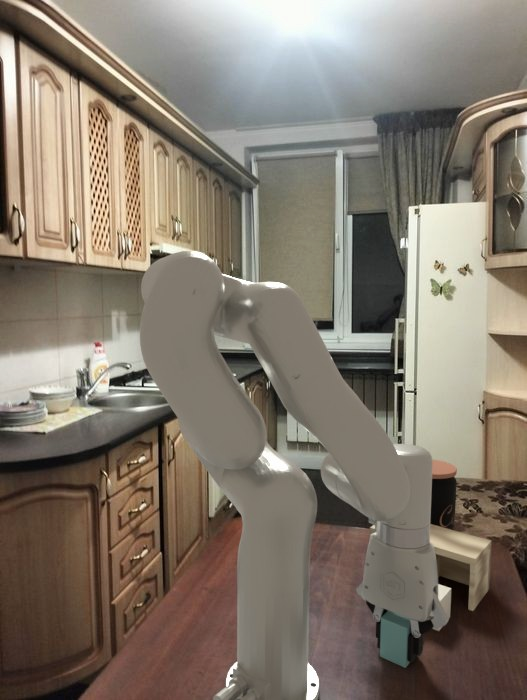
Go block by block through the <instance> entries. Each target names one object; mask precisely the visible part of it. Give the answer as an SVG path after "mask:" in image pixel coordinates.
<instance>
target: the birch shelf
mask: <svg viewBox="0 0 527 700" xmlns="http://www.w3.org/2000/svg"><path fill="white" fill-rule="evenodd" d="M373 533H375V525H373V524H372V526H370V527H369V538H370V537H371V535H372V534H373ZM430 542H431V543H433V545H434V550H435V555H436V561H437V571H438V578H439V577H442V578H446V579H449V580H451V581H454V582H457V583H460V584H463V585H467V586H468V587H469V588H468V603H467V604H468V605H467V606H468V610H469V611H472V612H474V611H475V610H476V608H477V606H478V605H479V604H480V602H481V601H482V599H483V598H484V597H485V596H486V594H487V593H489V591H490V585H491V584H490V581H491V562H492V561H491V559H492V540H491V539H487V538H484V537H479V536H476V535H473V534H470V533H464V532H462V531H457V530H451V529H447V528H443V527H440V526H436V525H432V524H430Z"/></svg>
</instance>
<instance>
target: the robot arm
mask: <svg viewBox="0 0 527 700" xmlns="http://www.w3.org/2000/svg"><path fill="white" fill-rule="evenodd" d="M140 293H141V297H142V300H143V303H144V305H143V309H142V311H141V316H140V326H139V344H140V345H139V346H140V351H141V356H142V359H143V363H144V365H145V367H146V369H147V371H148V372H147V373H148V374H149V375H150V377H151V379H152V380H153V382H154V383H155V385H156V387H157V389H158V390H159V391H160V393H161V394H162V396H163V397H164V399H165V401H166V402H167V404H168V405H169V407H170V409H171V410H172V411H173V413H174V414H175V416H176V418H177V423H178V427H179V431H180V434H181V435H182V437H183V439H184V441H185V443H186V444H188V446H189V447H190V449H191V450H192V452H193V453H194V454H195V456H196V458H197V459H198V460H199V462H200V463H201V464H202V466H203V467H204V468H205V470H206V471H207V473H208V474H209V475H210V477H211V478H212V479H213V481H214V482H215V483H216V485H217V486H218V487H219V489H220V490H221V492H222V493H223V494H224V496H226V498H227V499H228V500H229V501H230V503H232V505H233V506H234V507H235V509H236V510H237V511H238V512H237V513H239V514H240V515H241V519H242V520H241V521H242V529H241V535H240V540H239V545H238V549H237V561H236V562H237V563H236V566H237V567H236V574H237V575H236V581H237V585H236V586H237V588H236V589H237V596H236V597H237V608H236V609H237V610H236V611H237V613H236V614H237V618H236V619H237V621H236V622H237V623H236V627H237V630H236V631H237V634H236V636H237V637H236V642H237V643H236V645H237V646H236V648H237V649H236V652H237V653H236V654H237V655H236V660H237V661H236V662H235V663H233V665H231V667H230V668H229V670H228V671H227V674H226V678H225V687H223V688H222V689H221V690H220V691H218V692H217V693H215V694H214V696H213V697H212V700H319V696H320V679H319V676H318V674H317V671H316V670H315V668H314V667H313V666H312V665H310V663H309V638H310V637H309V635H310V634H309V629H310V628H309V627H310V624H309V623H310V566H311V565H310V564H311V563H310V562H311V546H312V539H313V533H314V527H315V523H316V519H317V511H318V499H317V493H316V489H315V488H314V485H313V483H312V481H311V479H310V478H309V476H308V475H307V473H306V472H304V470H302V469H301V467H300V466H298V465H297V464H296V463H294V462H293V461H291V460H290V459H288V458H287V457H285V456H284V455H282V454H280V453H279V452H278V451H277V450H275V449H273V447H272V446H271V445H270V443H268V441H267V439H268V435H267V433H268V432H267V431H268V430H267V425H266V423H265V420H264V416H263V415H262V413H261V412H260V410H259V408H258V407H257V406H256V404H254V402H253V400H252V399H251V398H250V397H249V395H248V394H247V393H246V391H245V389H244V387H242V384H241V383H240V382H239V381H238V379H237V378H236V376H235V374H233V372H232V370H231V369H230V367H229V366H228V364H227V361H226V360H225V358H224V357H223V355H222V354H221V352H220V349H219V347H218V346H217V342H216V337H215V336H218V337H222V338H225V339H229V340H232V341H236V342H241V343H244V344H248V345H249V346H250V347H251V349H252V352H253V353H254V354H255V357H256V358H257V360H258V362H259V363H260V366H261V367H262V369H263V371H264V373H265V374H266V376H267V378H268V380H269V382H270V383H271V385H272V387H273V389H274V391H275V392H276V394H277V397H278V398H279V399H280V402H281V404H282V405H283V407H284V409H286V411H287V412H288V413H289V415H290V416H291V417H292V418H293V419H294V420H295V421H296V422H297V423H298V424H299V425H300V426H301V427H302V428H303V429H304V430H305V431H307V432H308V433H309V434H310V435H312V436H313V438H315V439H316V441H318V443H320V444H321V445H322V446H323V448H324V449H326V451H327V453H326V455H325V457H324V458H323V460H322V462H321V466H320V476H321V479H322V482H323V484H324V485H325V487H326V488H327V489H328V490H329V491H330V492H331V493H332V494H333V495H335V496H336V497H337V498H339V499H340V500H342V501H343V502H345V503H347V504H348V505H350V506H351V507H353V508H354V509H355V510H356V511H358V512H359V513H360V514H362V515H364V516H365V517H367V518H368V523H369V524H371V525H372V526H373V525H375V533H373V534H372V535H371V537H370V536H369V540H368V545H367V549H366V555H365V558H364V560H365V561H364V567H363V578H362V581H361V582H360V583H359V585H358V586H357V587H356V593H357V595H359V596H360V598H362V600H363V601H365V603H366V606H367V607H368V608H369V610H370V611H371V613H372V619H373V620H374V622H375V638H376V639H377V642H376V644H377V645H376V646H377V647H376V648H378V649H379V650H380V636H381V617H382V616H383V615H384V614H385V613H386V612H387V611H391V612H393V613H396V614H398V615H401V616H404V617H406V618H409V619H410V624H411V633H410V634H409V636H408V655H407V660H408V661H409V662H410V663H413V662H414V661H415V660H416V658H417V657H420V656H422V653H423V650H424V634H425V633H428V632H429V631H431V630H434V629H433V628H438V627H442V626H443V627H444V626H445V627H446V625H447V624H448V622H449V620H450V618H449V619H448V616H447V615H446V613H445V611H444V609H443V607H442V605H441V603H440V601H439V599H438V584H439V577H438V571H437V561H436V555H435V550H434V545H433V543H431V542H430V517H431V494H432V468H433V460H434V459H433V457H432V454H431V453H430V451H428V450H427V449H426V448H423V447H422V446H419V445H415V444H411V443H410V444H409V443H393V441H392V440H391V438H390V437H389V435H388V434H387V432H386V430H385V429H384V427H383V426H382V424H381V423H380V422H379V421H378V419H377V418H376V417H375V416H374V415H373V413H372V412H371V411H370V410H369V409H368V407H367V406H366V405H365V404H364V402H363V401H362V400H361V399H360V397H359V396H358V395H357V393H355V391H354V389H352V388H351V387H350V386H349V384H348V382H347V381H346V380H345V379H344V378H343V376H342V374H341V373H340V371H339V368H338V366H337V365H336V363H335V362H334V359H333V358H332V356H331V354H330V351H329V349H328V348H327V345H326V344H325V341H324V340H323V338H322V336H321V334H320V332H319V330H318V328H317V326H316V324H315V323H314V319H313V318H312V316H311V314H310V313H309V311H308V309H307V306H306V304H305V302H304V301H303V300H302V298H301V296H300V295H299V293H297V291H296V290H295V289H294V288H292V287H291V286H289V285H287V284H284V283H282V282H276V281H262V282H261V281H260V282H251V281H246V280H243V279H241V278H236V277H234V276H233V277H232V276H230V275H227V274H223V273H222V271H221V269H220V267H219V266H218V265H217V263H216V262H215V261H214V260H213V259H212V258H211V257H209V256H208V255H206V254H204V253H203V252H198V251H195V250H194V251H193V250H183V251H177V252H174V253H171V254H169V255H166V256H164V257H161V258H159V259H157V260H155V261H154V262H153V263H151V265H150V266H149V267H148V268H147V269H146V271H145V272H144V274H143V277H142V279H141V284H140ZM431 611H432V613H433V615H434V616H433V617H432V616H430V613H431ZM429 616H430V617H429ZM443 627H442V628H443Z"/></svg>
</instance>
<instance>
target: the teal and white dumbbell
mask: <svg viewBox="0 0 527 700" xmlns="http://www.w3.org/2000/svg"><path fill="white" fill-rule="evenodd" d="M438 599H439V601H440V603H441V605H442V607H443V609H444V611H445V613H446V615H447V616H448V619H449V620H450V618H451V607H452V606H451V604H452V588H451V587H448V586H447V585H442V584H440V583H438ZM430 616H432V617H433V616H434V615H433V613H432V611H431V613H430ZM430 616H429V617H430ZM443 627H444V626H442V627H438V628H433V629H432V630H434V631H437V632H440V630H441V629H442V628H443ZM410 633H411V624H410V619H409V618H406V617H404V616H401V615H398V614H396V613H393V612H391V611H387V612H386V613H385V614H384V615H383V616H382V617H381V636H380V649H379V657H381V658H382V659H385V660H387V661H389V662H392V663H394V664H396V665H398V666H401V667H402V668H404V669H406V668H407V667H408V666H409V665H410V663H411V662H409V661H408V660H407V655H408V636H409V634H410Z"/></svg>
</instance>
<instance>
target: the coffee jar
mask: <svg viewBox="0 0 527 700" xmlns="http://www.w3.org/2000/svg"><path fill="white" fill-rule="evenodd" d="M432 460H433V468H432V494H431V517H430V524H432V525H436V526H440V527H443V528H447V529H451V530H454V531H456V530H455V527H456V526H455V525H456V507H457V506H456V503H457V502H456V501H457V478H456V477H455V476H456V475H457V470H458V468H457V467H456V466H455V465H454V464H451V463H450V462H446V461H444V460H437V459H432Z"/></svg>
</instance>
